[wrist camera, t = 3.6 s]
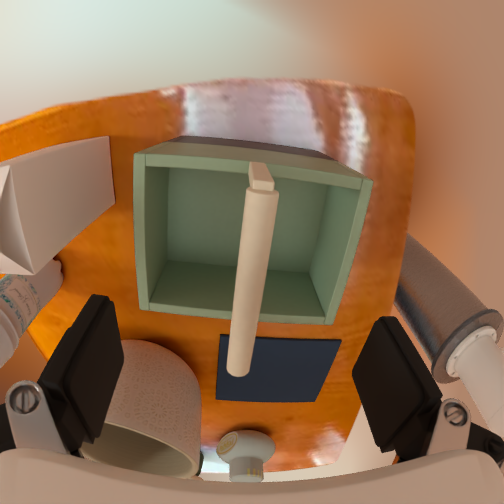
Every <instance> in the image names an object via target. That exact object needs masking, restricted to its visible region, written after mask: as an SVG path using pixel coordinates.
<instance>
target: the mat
mask: <svg viewBox="0 0 504 504" xmlns="http://www.w3.org/2000/svg"><path fill="white" fill-rule="evenodd" d="M229 338H230V335H224V334H220V345H219V359H218V373H217V387H216V400H229V401H247V402H315V400H316V398H317V396H318V394H319V392H320V390H321V388H322V386H323V383H324V381H325V379H326V377H327V375H328V372H329V370H330V368H331V365H332V363H333V361H334V359H335V356H336V354H337V351H338V349H339V347H340V344H341V342H342V341H341V340H326V339H288V338H267V337H255V342H254V347H253V353H252V359H251V364H250V369H249V372H248V373H247V374H246V375H245V376H242V377H236V376H233V375H231V374H230V373H229V372H228V371H227V357H228V348H229Z"/></svg>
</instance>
